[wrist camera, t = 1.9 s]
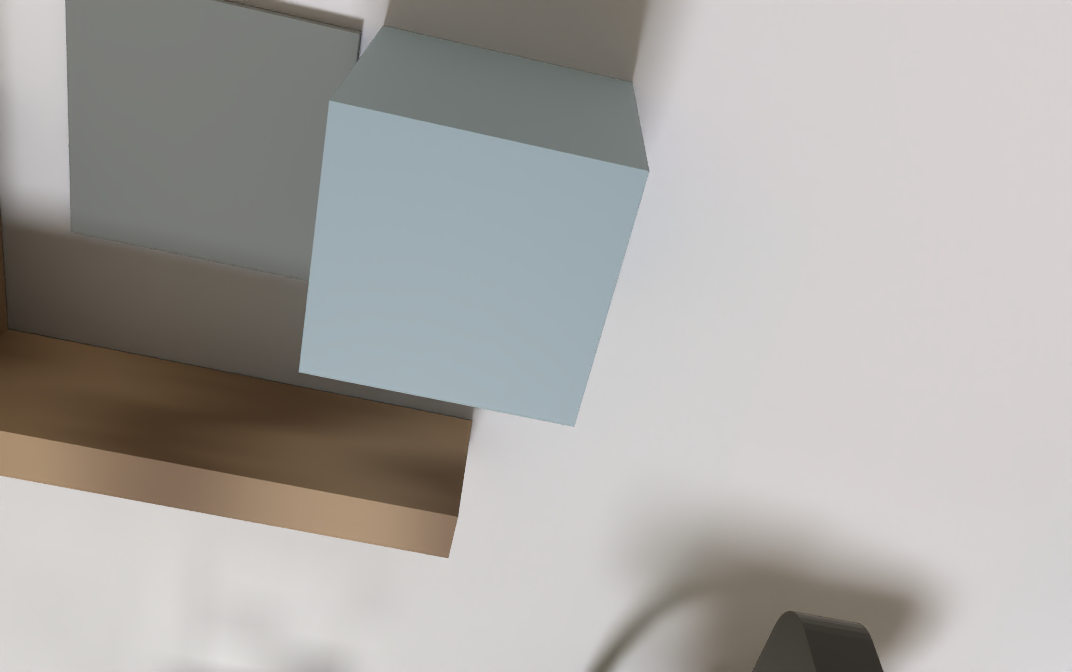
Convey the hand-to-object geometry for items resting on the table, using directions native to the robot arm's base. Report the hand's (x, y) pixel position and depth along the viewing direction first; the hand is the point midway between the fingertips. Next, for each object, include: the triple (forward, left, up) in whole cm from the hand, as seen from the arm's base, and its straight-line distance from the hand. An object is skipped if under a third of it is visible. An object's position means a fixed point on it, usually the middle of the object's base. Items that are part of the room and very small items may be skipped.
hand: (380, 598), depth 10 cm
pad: (+6, +1, -12) cm, 13 cm away
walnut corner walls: (+5, +4, -12) cm, 14 cm away
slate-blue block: (0, 0, -12) cm, 12 cm away
